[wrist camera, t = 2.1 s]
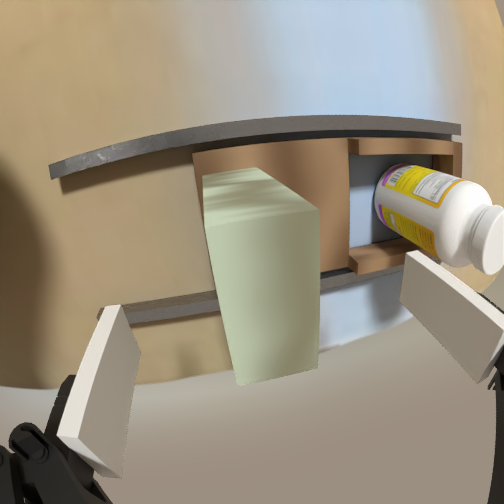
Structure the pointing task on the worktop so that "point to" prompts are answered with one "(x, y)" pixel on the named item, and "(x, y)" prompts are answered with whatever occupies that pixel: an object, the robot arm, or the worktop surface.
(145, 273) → the worktop surface
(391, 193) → the supplement bottle
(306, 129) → the lane rails
